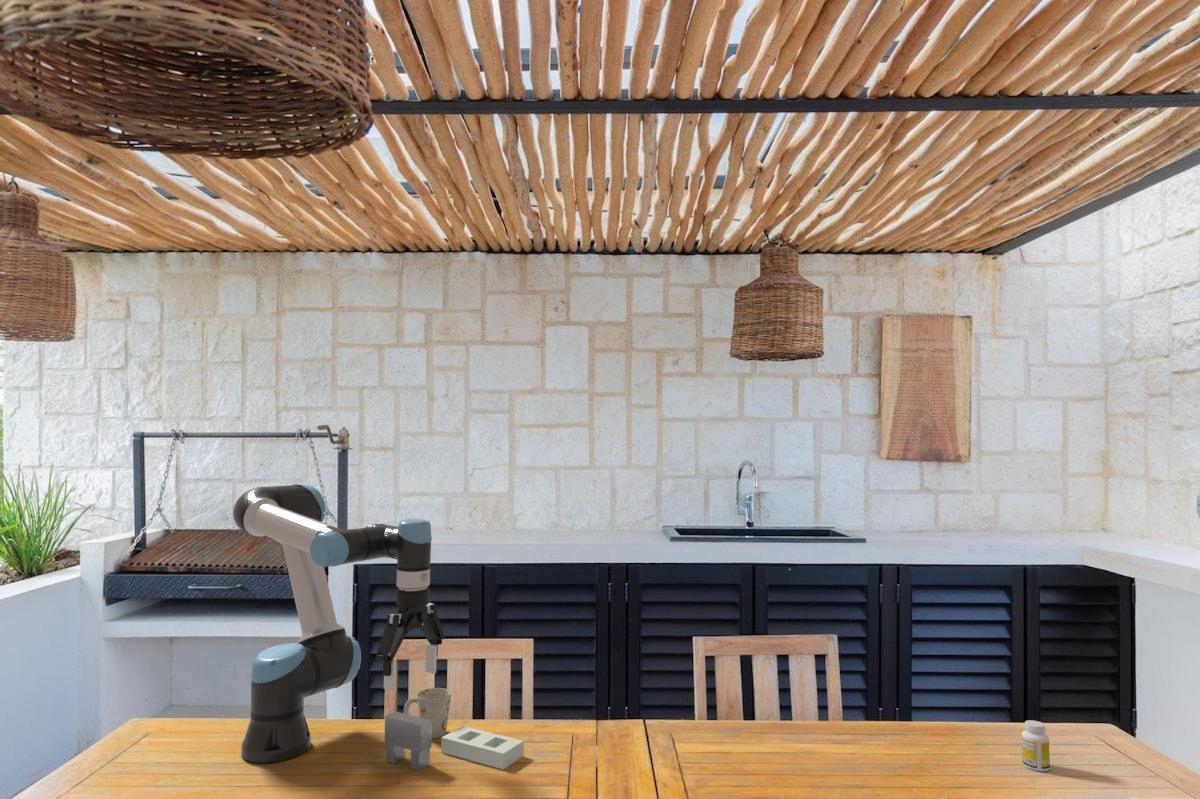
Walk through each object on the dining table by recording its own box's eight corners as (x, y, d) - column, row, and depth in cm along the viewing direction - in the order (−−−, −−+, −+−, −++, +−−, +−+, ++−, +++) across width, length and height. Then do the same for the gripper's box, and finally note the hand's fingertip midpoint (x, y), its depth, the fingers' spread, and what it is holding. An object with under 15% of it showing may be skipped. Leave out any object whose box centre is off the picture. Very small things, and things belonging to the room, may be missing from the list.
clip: (384, 760, 172) (385, 716, 172) (395, 754, 175) (395, 711, 176) (420, 771, 167) (421, 725, 167) (431, 765, 170) (431, 720, 170)
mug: (442, 742, 183) (443, 700, 183) (394, 737, 185) (395, 696, 185) (455, 728, 191) (456, 689, 191) (410, 724, 193) (410, 685, 194)
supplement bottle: (1046, 763, 172) (1045, 720, 173) (1052, 774, 167) (1051, 729, 168) (1020, 760, 174) (1019, 717, 175) (1025, 770, 169) (1024, 726, 169)
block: (441, 752, 176) (441, 737, 177) (462, 740, 183) (463, 726, 184) (503, 769, 168) (503, 753, 168) (523, 756, 175) (523, 740, 175)
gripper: (386, 600, 160) (383, 700, 159) (460, 580, 182) (458, 668, 181) (360, 595, 163) (357, 694, 163) (436, 576, 185) (434, 663, 185)
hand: (410, 680), depth 172 cm, fingers open, 13 cm apart
